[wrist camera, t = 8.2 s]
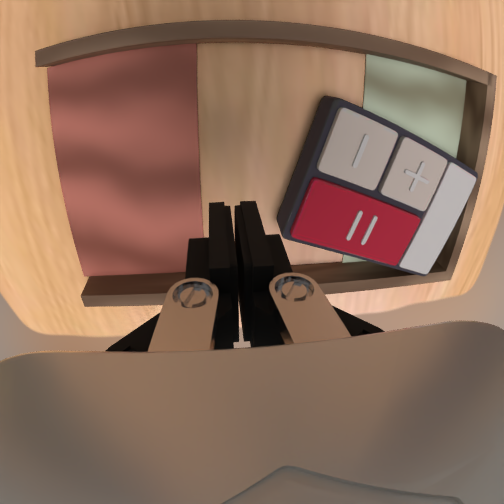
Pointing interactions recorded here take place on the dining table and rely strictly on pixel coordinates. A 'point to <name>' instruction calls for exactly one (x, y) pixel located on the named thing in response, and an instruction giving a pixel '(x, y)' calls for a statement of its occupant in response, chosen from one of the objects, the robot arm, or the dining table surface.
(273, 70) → the dining table surface
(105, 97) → the brown wooden tray
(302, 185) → the calculator
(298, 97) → the dining table surface
